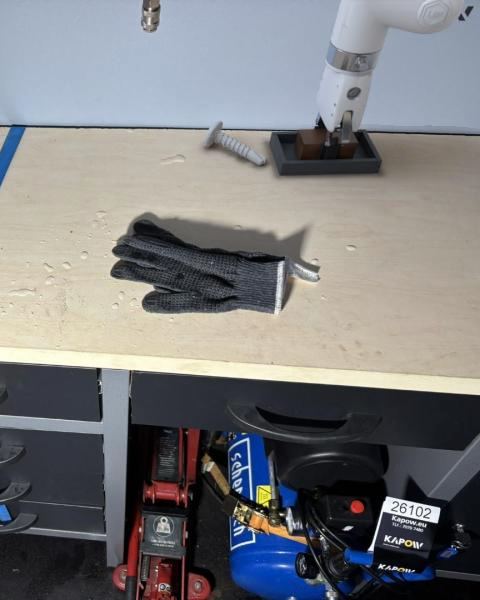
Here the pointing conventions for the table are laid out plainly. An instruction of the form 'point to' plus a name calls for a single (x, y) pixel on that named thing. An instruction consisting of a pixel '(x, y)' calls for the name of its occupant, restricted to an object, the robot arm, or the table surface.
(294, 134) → the tray
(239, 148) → the screw
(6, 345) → the table surface
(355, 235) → the table surface
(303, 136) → the block
